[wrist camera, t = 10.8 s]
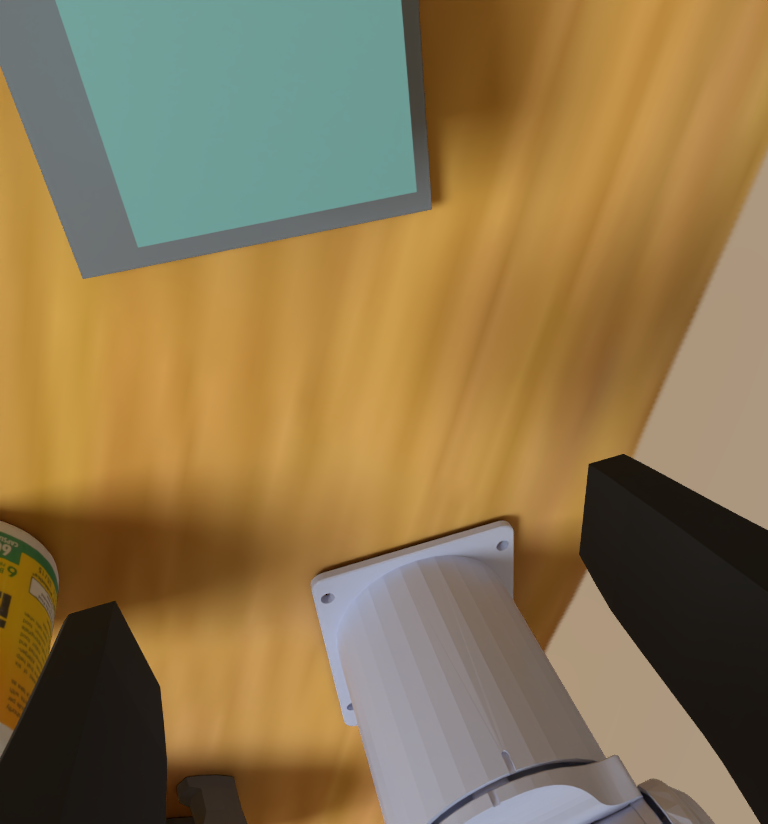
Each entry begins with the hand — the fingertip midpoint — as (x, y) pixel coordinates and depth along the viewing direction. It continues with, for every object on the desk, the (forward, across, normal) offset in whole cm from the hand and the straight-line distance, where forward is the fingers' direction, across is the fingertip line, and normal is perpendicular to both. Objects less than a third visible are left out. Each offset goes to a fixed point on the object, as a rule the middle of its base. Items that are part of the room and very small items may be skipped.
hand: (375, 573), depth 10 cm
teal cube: (+10, 0, -6) cm, 12 cm away
